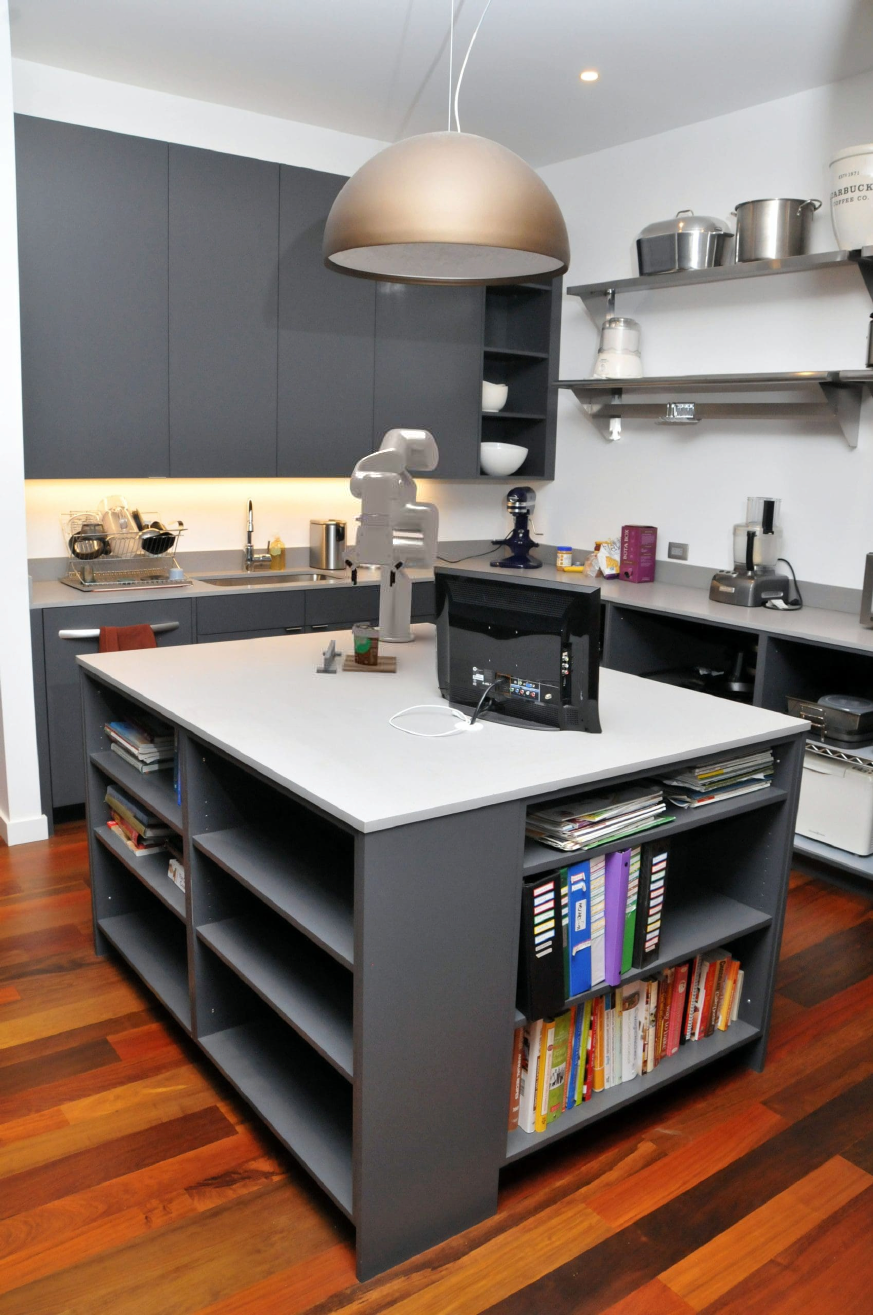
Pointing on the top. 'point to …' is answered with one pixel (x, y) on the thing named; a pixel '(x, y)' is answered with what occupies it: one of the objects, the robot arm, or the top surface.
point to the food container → (365, 644)
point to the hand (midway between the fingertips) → (373, 585)
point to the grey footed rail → (329, 659)
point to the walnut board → (383, 665)
